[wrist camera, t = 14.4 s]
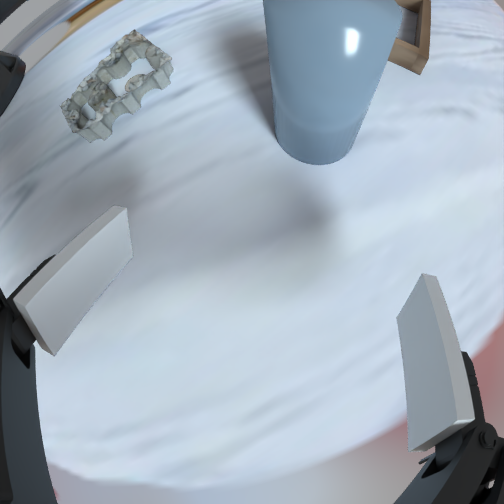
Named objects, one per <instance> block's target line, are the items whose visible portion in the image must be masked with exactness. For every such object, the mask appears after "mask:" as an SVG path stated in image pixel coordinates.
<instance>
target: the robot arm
mask: <svg viewBox="0 0 504 504" xmlns="http://www.w3.org/2000/svg"><path fill="white" fill-rule="evenodd" d="M25 1H28V0H0V24H1V23H2V22H3V21H4V20H5V19H6V18H7V17H9V16H10V15H11V14H12V13H13V12H14V11H15V10H16V9H17V8H18V7H20V6H21V4H23V3H24V2H25ZM25 68H26V65H25V63H24V62H23V61H22V60H21V59H20V58H19V57H18V56H15V55H12V54H9V53H6V52H2V51H0V116H1V114H2V113H3V111H4V110H5V108H6V107H7V105H8V104H9V102H10V101H11V99H12V97H13V96H14V94H15V92H16V90H17V89H18V87H19V85H20V83H21V81H22V78H23V76H24V73H25ZM132 257H133V250H132V244H131V237H130V230H129V222H128V215H127V208H126V207H121V206H115V205H113V206H112V207H111V208H110V209H108V210H107V211H106V212H105V213H103V214H102V215H101V216H100V217H99V218H97V219H96V220H95V221H94V222H93V223H91V224H90V225H89V226H88V227H87V228H86V229H84V230H83V231H82V232H81V233H80V234H79V235H77V236H76V237H75V238H74V239H73V240H72V241H71V242H70V243H69V244H67V245H66V246H65V247H64V248H63V249H62V250H61V251H60V252H59V253H58V254H57V255H53V256H51V257H50V258H48V259H46V260H44V261H43V262H42V263H41V264H40V265H39V266H38V267H37V269H36V270H34V271H33V272H32V273H31V274H30V276H28V277H27V278H26V279H25V280H24V281H23V282H22V283H21V284H20V285H19V286H18V288H17V289H16V290H15V291H14V292H13V293H12V294H11V295H10V296H9V297H8V298H7V299H6V298H5V296H4V294H3V292H2V290H1V288H0V504H58V503H57V500H56V497H55V494H54V490H53V486H52V483H51V479H50V475H49V471H48V466H47V462H46V457H45V452H44V447H43V441H42V435H41V428H40V421H39V412H38V402H37V390H36V370H35V347H34V345H33V343H34V342H35V340H37V342H38V343H39V345H40V346H41V348H42V349H43V350H45V351H47V352H48V353H50V354H51V355H53V356H55V355H56V354H57V352H58V351H59V350H60V348H61V347H62V345H63V344H64V343H65V341H66V340H67V339H68V337H69V336H70V334H71V333H72V332H73V330H74V329H75V328H76V326H77V325H78V324H79V322H80V321H81V320H82V318H83V317H84V316H85V315H86V313H87V312H88V311H89V309H90V308H91V307H92V306H93V304H94V303H95V302H96V301H97V299H98V298H99V297H100V296H101V294H102V293H103V292H104V291H105V289H106V288H107V287H108V286H109V285H110V283H111V282H112V281H113V280H114V279H115V277H116V276H117V275H118V274H119V273H120V271H121V270H122V269H123V268H124V267H125V266H126V264H127V263H128V262H129V261H130V260H131V259H132ZM397 324H398V330H399V337H400V344H401V351H402V359H403V368H404V377H405V388H406V401H407V419H408V452H419V451H420V452H422V451H427V450H428V449H430V448H432V447H433V446H435V453H433V454H431V455H429V456H427V457H426V458H424V459H422V460H421V461H420V462H419V464H422V463H424V462H426V461H427V462H426V463H425V465H424V466H423V468H422V469H421V470H420V472H419V473H418V474H417V476H416V477H415V478H414V480H413V481H412V482H411V483H410V485H409V486H408V487H407V488H406V490H405V491H404V492H403V493H402V495H401V496H400V497H399V498H398V499H397V500H396V501H395V503H394V504H504V438H501V437H498V435H497V432H496V430H495V428H494V427H493V426H492V425H491V424H489V423H486V422H485V419H484V412H483V407H482V401H481V397H480V391H479V387H478V386H477V385H478V383H477V378H476V377H475V375H476V374H475V370H474V366H473V363H472V361H471V359H470V357H469V356H468V354H467V352H462V351H461V350H460V346H459V342H458V339H457V335H456V332H455V329H454V326H453V322H452V319H451V316H450V313H449V310H448V307H447V304H446V301H445V299H444V296H443V293H442V290H441V288H440V285H439V283H438V280H437V277H436V276H432V275H428V274H424V273H422V274H421V276H420V278H419V280H418V282H417V284H416V285H415V287H414V289H413V291H412V292H411V294H410V296H409V298H408V299H407V301H406V303H405V305H404V306H403V308H402V310H401V311H400V313H399V314H398V316H397ZM493 480H495V481H494V484H493V487H492V488H488V486H489V482H491V481H493Z"/></svg>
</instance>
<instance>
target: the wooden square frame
mask: <svg viewBox="0 0 504 504" xmlns="http://www.w3.org/2000/svg"><path fill="white" fill-rule="evenodd" d="M394 1H395V2H396V3H397V4H398V5H400V6H402V7H404V8H407V9H409V10H411V11H414V12H416V13H418V18H417V28H416V36H415V44H414V45H411V44H409V43H407V42H405V41H403V40H400V39H398V38H395V41H394V44H393V47H392V49H391V52H390V55H389V57H388V60H389V61H391V62H393V63H395V64H398V65H400V66H402V67H404V68H406V69H408V70H411V71H413V72H415V73H417V74H419V75H420V74H421V72H422V70H423V68H424V66H425V65H426V63H427V61H428V59H429V46H430V26H431V1H430V0H394Z"/></svg>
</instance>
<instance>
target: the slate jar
mask: <svg viewBox="0 0 504 504" xmlns="http://www.w3.org/2000/svg"><path fill="white" fill-rule="evenodd" d="M263 6H264V15H265V24H266V34H267V43H268V54H269V64H270V75H271V87H272V99H273V111H274V124H275V134H276V138H277V140H278V142H279V144H280V146H281V147H282V148H283V150H284V151H285V152H286V153H287V154H289V155H290V156H291V157H293V158H295V159H296V160H299V161H301V162H304V163H307V164H312V165H325V164H331V163H334V162H336V161H339V160H340V159H342V158H343V157H344V156H346V155H347V154H348V153H349V151H350V150H351V148H352V146H353V144H354V141H355V139H356V137H357V134H358V132H359V130H360V127H361V125H362V122H363V120H364V118H365V115H366V113H367V110H368V108H369V106H370V103H371V101H372V98H373V96H374V93H375V91H376V88H377V86H378V83H379V81H380V78H381V76H382V73H383V70H384V68H385V65H386V63H387V60H388V57H389V55H390V52H391V49H392V47H393V44H394V41H395V38H396V36H397V33H398V30H399V27H400V24H401V22H402V11H401V9H400V7H399V6H398V4H397V3H396V2H395V1H394V0H263Z"/></svg>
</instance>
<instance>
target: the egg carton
mask: <svg viewBox="0 0 504 504" xmlns="http://www.w3.org/2000/svg"><path fill="white" fill-rule="evenodd" d="M139 58H141V59H144V58H147V60H148V61H149V63H150V65H151V66H152V68H153V69H155V71H152V72H151V73H149V74H148V75H143V74H142V75H141V74H140V75H136V76H134V77H132V78H130V79H129V80H128V82H127V83H126V85H125V90H126V91H127V92H128V93H126V94H124V95H123V96H118V97H116V96H115V95H114V94H113V92H112V91H111V90H110V89H109V88H108V87H107V84H108V83H109V82H110V81H111V80H112V79H120V78H122V77H124V76H125V75H126V74H128V72H129V71H130V70H131V64H132V63H133V62H134V61H136V60H137V59H139ZM170 60H172V58H171V57H170V56H169V55H168V54H166V53H165V52H163V51H162V50H161V49H160V48H158V47H156V46H155V45H154V44H152V43H151V42H150V41H148V40H147V39H146V38H145V37H144V36H142V35H141V34H140V33H138V32H136V31H135V30H133V31H131V33H130V34H129V35H125V36H124V37H122V39H121V40H120V41H118V42H116V44H115V45H114V46H113V47H112V48H111V54H110V55H109V56H108V57H106V58H105V59H103V60H101V61H100V62H99V65H98V67H97V68H96V69H95V70H94V71H93V72H92V73H91V74H90V75H88V76H87V77H85V78H84V80H83V81H82V82H81V84H80V85H79V86H78V87H77V89H76V91H75V92H74V93H73V94H72V96H71V99H69V98H68V99H67V100H66V101H64V102H63V103H62V105H61V106H60V107H61V109H62V110H63V111H62V112H63V114H64V116H65V119H66V120H67V123H68V125H69V127H70V128H71V129H72V132H73V133H76V132H77V133H78V134H80V135H81V136H82V137H84V138H85V139H86V140H88V141H89V142H90V143H91V142H93V141H94V140H96V139H103V140H106V139H107V138H108V137H109V136H110V135H111V134H112V124H113V122H114V121H115V119H116V118H117V117H119V116H120V115H122V114H124V113H130V114H132V115H133V114H134V113H135V112H136V111H138V110H139V109H140V108H141V104H140V101H141V98H142V97H143V95H144V94H145V93H146V92H148V91H150V90H152V89H161V90H163V89H164V88H166V87H167V86H168V85H170V83H171V82H170V81H169V77H170V75H171V73H172V72H173V67H172V66H171V63H170ZM121 97H123V99H122V100H121V99H120V98H121ZM87 102H88V104H89V105H90V106H91V107H92V108H93V109H94V110H95V111H96V119H95V120H93V119H90V120H88V119H87V118H86V117H85V116H84V115H83V114H82V113H81V112H82V107H83V105H84V104H85V103H87Z"/></svg>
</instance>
